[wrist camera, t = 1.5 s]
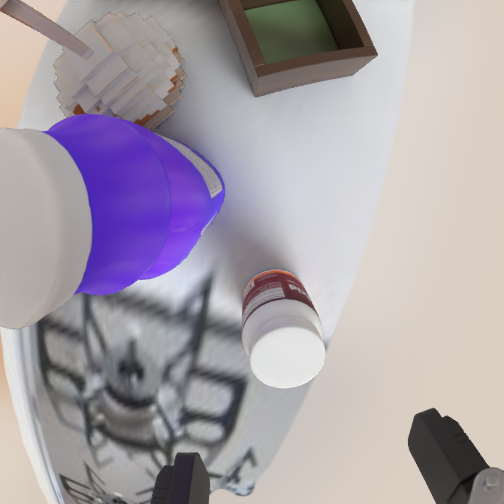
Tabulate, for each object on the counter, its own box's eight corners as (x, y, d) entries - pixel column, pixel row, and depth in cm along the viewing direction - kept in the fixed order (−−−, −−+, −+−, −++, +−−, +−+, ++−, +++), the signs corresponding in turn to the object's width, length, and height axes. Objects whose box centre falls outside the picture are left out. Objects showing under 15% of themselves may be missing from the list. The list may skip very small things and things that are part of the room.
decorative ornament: (74, 89, 19) (-69, 42, 4) (150, 24, 17) (62, -95, 3) (124, 158, 20) (-37, 157, 6) (208, 89, 19) (147, -39, 5)
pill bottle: (315, 305, 23) (346, 368, 15) (262, 334, 24) (270, 405, 16) (286, 255, 22) (309, 302, 14) (230, 286, 23) (224, 347, 15)
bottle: (116, 191, 21) (-93, 251, 4) (157, 125, 20) (-36, 45, 3) (195, 246, 22) (87, 433, 5) (240, 180, 21) (224, 219, 4)
